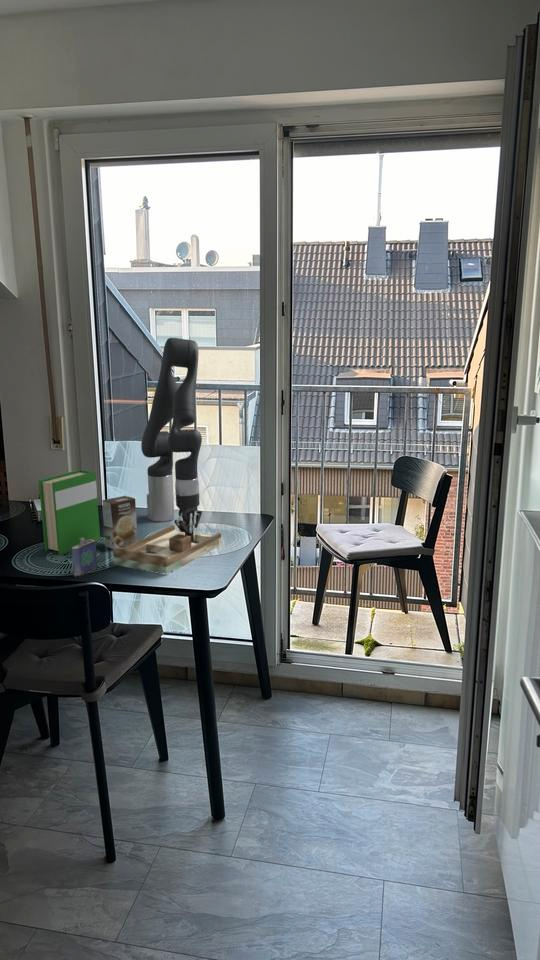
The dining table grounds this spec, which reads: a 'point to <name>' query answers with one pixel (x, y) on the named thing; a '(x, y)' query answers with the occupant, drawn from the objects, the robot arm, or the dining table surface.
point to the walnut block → (179, 543)
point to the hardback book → (69, 510)
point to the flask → (84, 557)
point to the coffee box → (119, 521)
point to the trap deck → (163, 551)
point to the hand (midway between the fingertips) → (189, 542)
